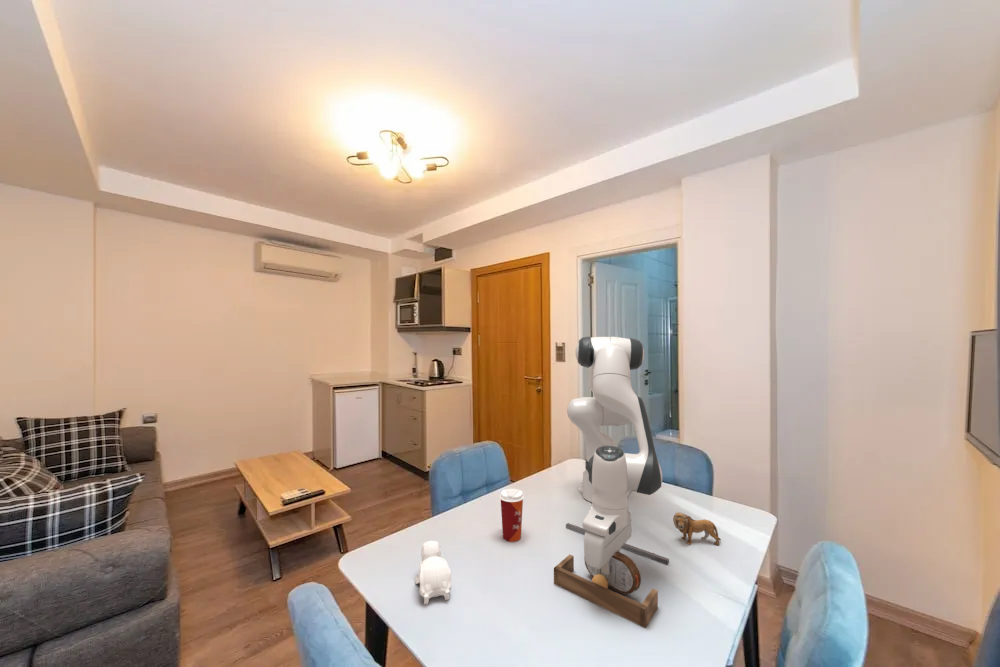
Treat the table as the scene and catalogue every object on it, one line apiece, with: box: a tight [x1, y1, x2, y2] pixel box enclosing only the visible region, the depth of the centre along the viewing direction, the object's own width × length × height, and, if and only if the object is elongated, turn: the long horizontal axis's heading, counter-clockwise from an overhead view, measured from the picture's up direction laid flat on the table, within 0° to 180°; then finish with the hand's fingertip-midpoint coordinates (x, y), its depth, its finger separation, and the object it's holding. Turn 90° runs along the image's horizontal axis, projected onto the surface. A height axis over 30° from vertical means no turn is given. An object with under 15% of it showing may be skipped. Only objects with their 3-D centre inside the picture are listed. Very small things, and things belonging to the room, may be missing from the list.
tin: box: [583, 551, 642, 595], centre depth 97 cm, size 15×3×8 cm, turn 41°
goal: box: [553, 554, 659, 629], centre depth 94 cm, size 8×23×4 cm, turn 50°
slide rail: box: [565, 522, 670, 566], centre depth 117 cm, size 1×32×1 cm, turn 50°
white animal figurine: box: [414, 540, 452, 606], centre depth 98 cm, size 9×8×15 cm
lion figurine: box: [672, 512, 721, 546], centre depth 118 cm, size 15×5×9 cm, turn 94°
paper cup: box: [499, 488, 525, 543], centre depth 121 cm, size 8×8×14 cm
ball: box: [591, 574, 609, 589], centre depth 95 cm, size 4×4×4 cm
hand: (610, 568), depth 97 cm, fingers closed on tin, 3 cm apart
